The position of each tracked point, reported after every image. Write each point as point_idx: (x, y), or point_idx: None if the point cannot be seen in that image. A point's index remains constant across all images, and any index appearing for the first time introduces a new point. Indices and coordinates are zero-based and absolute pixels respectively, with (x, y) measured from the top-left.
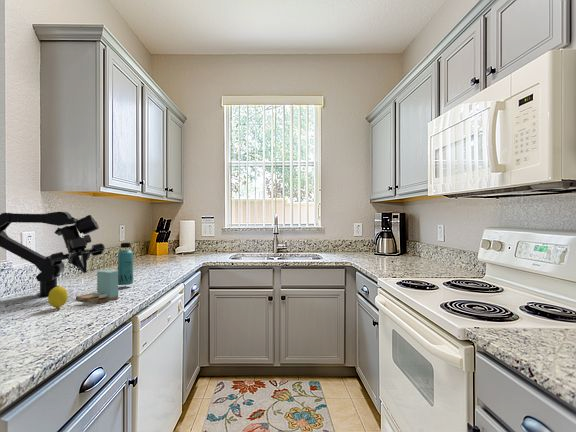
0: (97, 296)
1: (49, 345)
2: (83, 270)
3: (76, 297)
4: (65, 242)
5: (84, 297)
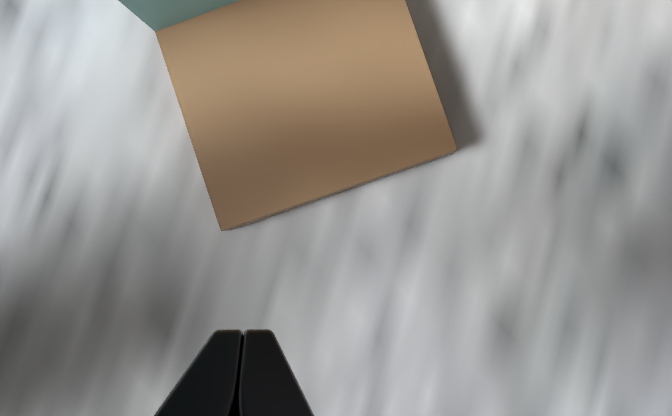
0: None
1: None
2: (279, 352)
3: (450, 139)
4: None
5: (395, 21)
